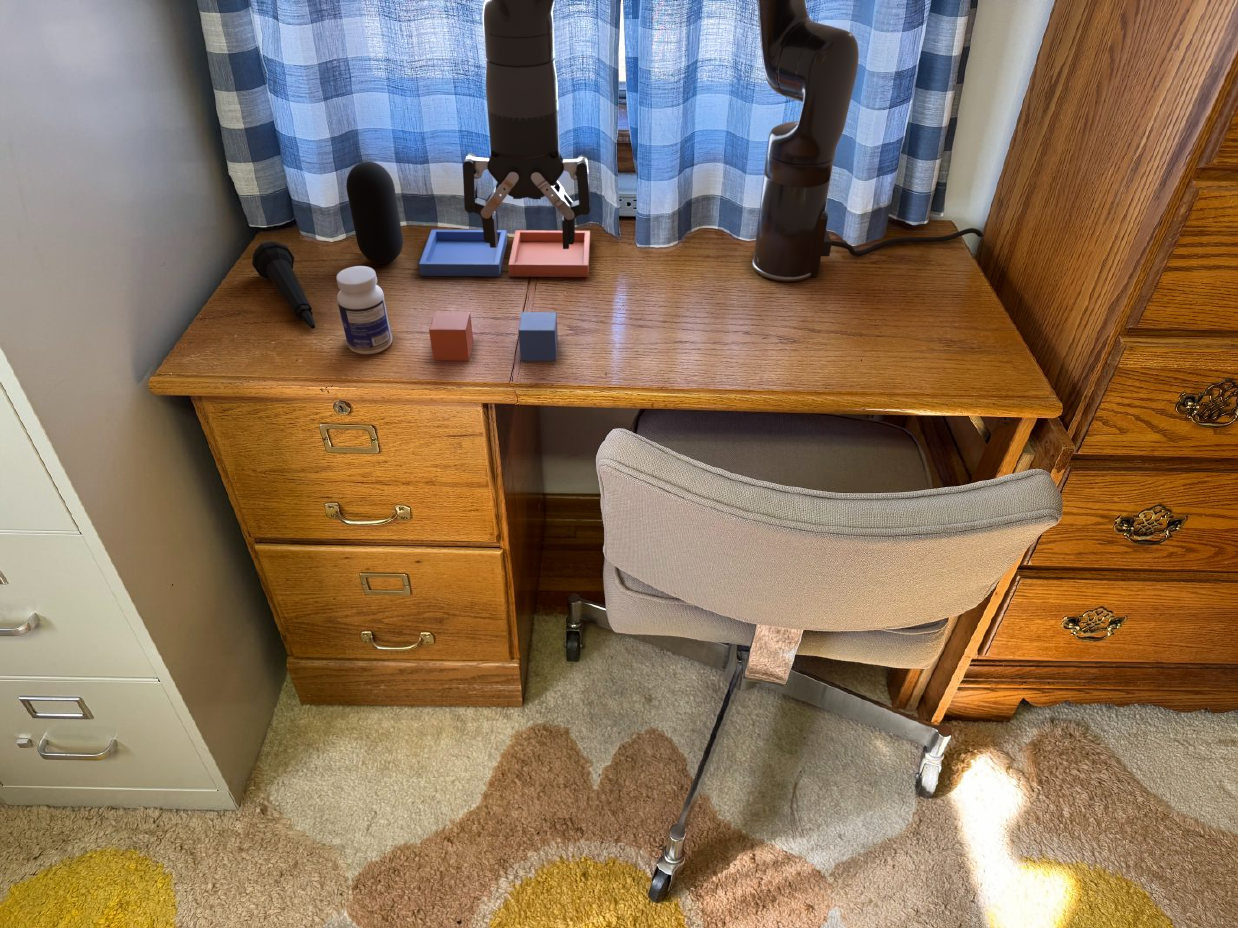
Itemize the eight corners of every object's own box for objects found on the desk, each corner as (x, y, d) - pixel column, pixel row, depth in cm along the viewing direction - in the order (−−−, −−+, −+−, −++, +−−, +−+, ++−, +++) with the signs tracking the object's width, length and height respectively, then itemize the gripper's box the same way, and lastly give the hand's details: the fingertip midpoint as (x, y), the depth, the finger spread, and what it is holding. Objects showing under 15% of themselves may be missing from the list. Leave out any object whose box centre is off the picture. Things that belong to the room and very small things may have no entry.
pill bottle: (351, 333, 112) (336, 264, 106) (395, 331, 112) (382, 262, 106) (344, 357, 108) (328, 286, 101) (390, 355, 108) (376, 285, 102)
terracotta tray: (590, 242, 134) (590, 230, 132) (588, 277, 125) (588, 265, 123) (516, 241, 133) (515, 230, 132) (509, 276, 125) (508, 264, 123)
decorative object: (407, 269, 126) (390, 170, 116) (361, 274, 125) (341, 173, 115) (405, 250, 131) (389, 152, 121) (361, 254, 129) (341, 156, 120)
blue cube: (558, 342, 111) (556, 312, 108) (556, 361, 107) (554, 330, 105) (523, 342, 111) (521, 311, 108) (520, 361, 107) (518, 330, 105)
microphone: (330, 344, 115) (284, 269, 126) (336, 308, 112) (288, 234, 123) (289, 345, 112) (245, 268, 123) (294, 308, 109) (249, 231, 120)
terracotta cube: (473, 341, 111) (470, 311, 108) (469, 360, 107) (465, 329, 104) (439, 341, 111) (434, 311, 108) (433, 360, 107) (428, 329, 104)
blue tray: (507, 241, 133) (506, 230, 132) (499, 276, 125) (498, 264, 123) (433, 240, 133) (431, 229, 132) (420, 275, 124) (418, 264, 123)
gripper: (450, 113, 87) (465, 259, 98) (588, 116, 87) (589, 261, 98) (460, 91, 93) (474, 231, 103) (590, 94, 93) (591, 233, 103)
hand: (530, 245), depth 101 cm, fingers open, 8 cm apart
